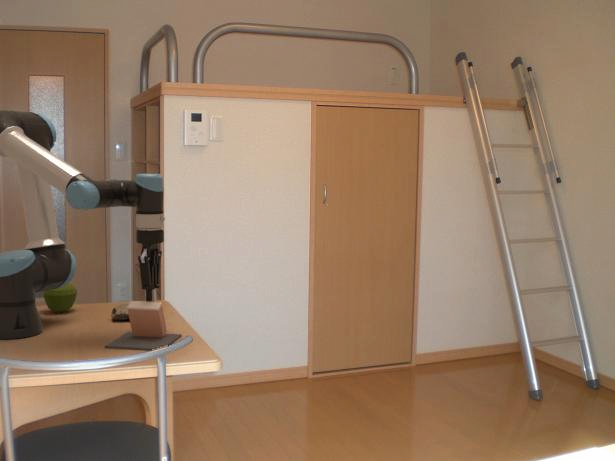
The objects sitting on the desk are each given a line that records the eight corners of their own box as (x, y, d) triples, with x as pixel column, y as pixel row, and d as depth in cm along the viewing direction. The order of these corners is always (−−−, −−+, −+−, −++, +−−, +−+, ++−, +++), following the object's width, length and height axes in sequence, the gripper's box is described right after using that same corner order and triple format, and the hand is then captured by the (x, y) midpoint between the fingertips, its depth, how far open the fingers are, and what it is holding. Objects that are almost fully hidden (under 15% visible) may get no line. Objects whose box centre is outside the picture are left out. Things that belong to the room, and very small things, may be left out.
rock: (147, 322, 217) (147, 308, 217) (111, 323, 215) (110, 309, 214) (146, 315, 228) (146, 302, 227) (111, 316, 225) (111, 303, 224)
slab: (132, 335, 197) (127, 307, 192) (136, 329, 200) (130, 300, 195) (163, 337, 196) (158, 308, 191) (166, 330, 198) (161, 302, 194)
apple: (67, 316, 223) (66, 285, 222) (36, 314, 225) (36, 284, 224) (83, 309, 234) (82, 279, 233) (54, 307, 235) (53, 278, 234)
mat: (104, 347, 186) (104, 345, 186) (128, 333, 202) (128, 331, 202) (162, 351, 184) (162, 349, 184) (181, 336, 200) (181, 334, 200)
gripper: (154, 231, 188) (155, 317, 190) (170, 227, 201) (171, 307, 203) (128, 230, 189) (129, 316, 191) (145, 226, 202) (146, 306, 204)
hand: (150, 311), depth 197 cm, fingers closed
